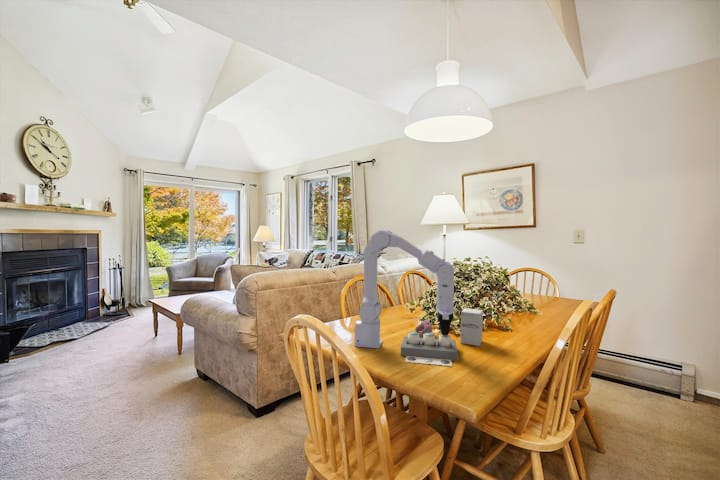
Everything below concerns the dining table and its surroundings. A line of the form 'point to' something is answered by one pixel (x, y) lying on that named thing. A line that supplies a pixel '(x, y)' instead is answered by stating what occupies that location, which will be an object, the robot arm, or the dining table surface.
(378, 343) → the robot arm
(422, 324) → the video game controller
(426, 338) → the button middle
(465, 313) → the supplement box
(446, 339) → the button right
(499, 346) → the dining table surface
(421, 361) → the card
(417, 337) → the button left
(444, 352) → the button board
